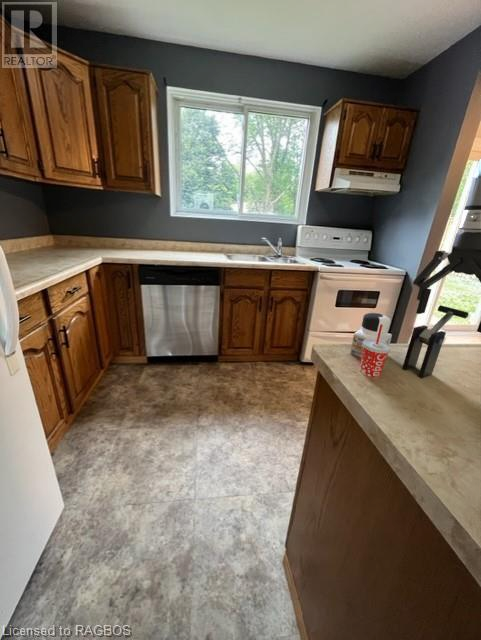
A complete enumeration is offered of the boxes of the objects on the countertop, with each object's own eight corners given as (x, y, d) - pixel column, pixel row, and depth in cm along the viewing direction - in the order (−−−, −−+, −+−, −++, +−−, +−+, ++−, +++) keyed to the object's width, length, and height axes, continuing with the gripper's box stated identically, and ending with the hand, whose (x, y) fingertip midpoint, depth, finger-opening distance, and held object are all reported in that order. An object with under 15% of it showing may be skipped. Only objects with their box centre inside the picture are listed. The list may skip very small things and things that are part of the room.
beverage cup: (359, 382, 65) (372, 328, 60) (352, 369, 70) (363, 319, 65) (386, 385, 64) (401, 330, 59) (377, 371, 70) (389, 321, 65)
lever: (441, 309, 70) (441, 302, 69) (468, 317, 65) (468, 309, 64) (411, 339, 67) (410, 332, 66) (437, 349, 62) (437, 342, 61)
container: (348, 358, 76) (357, 314, 72) (358, 349, 82) (367, 308, 77) (377, 368, 71) (388, 322, 67) (386, 359, 77) (397, 315, 72)
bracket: (411, 363, 75) (424, 320, 70) (447, 380, 68) (464, 333, 63) (384, 373, 69) (396, 327, 65) (420, 392, 62) (436, 341, 57)
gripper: (412, 228, 68) (391, 308, 76) (552, 235, 48) (506, 343, 55) (428, 229, 72) (407, 305, 79) (565, 236, 52) (520, 337, 59)
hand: (448, 321), depth 67 cm, fingers open, 13 cm apart
